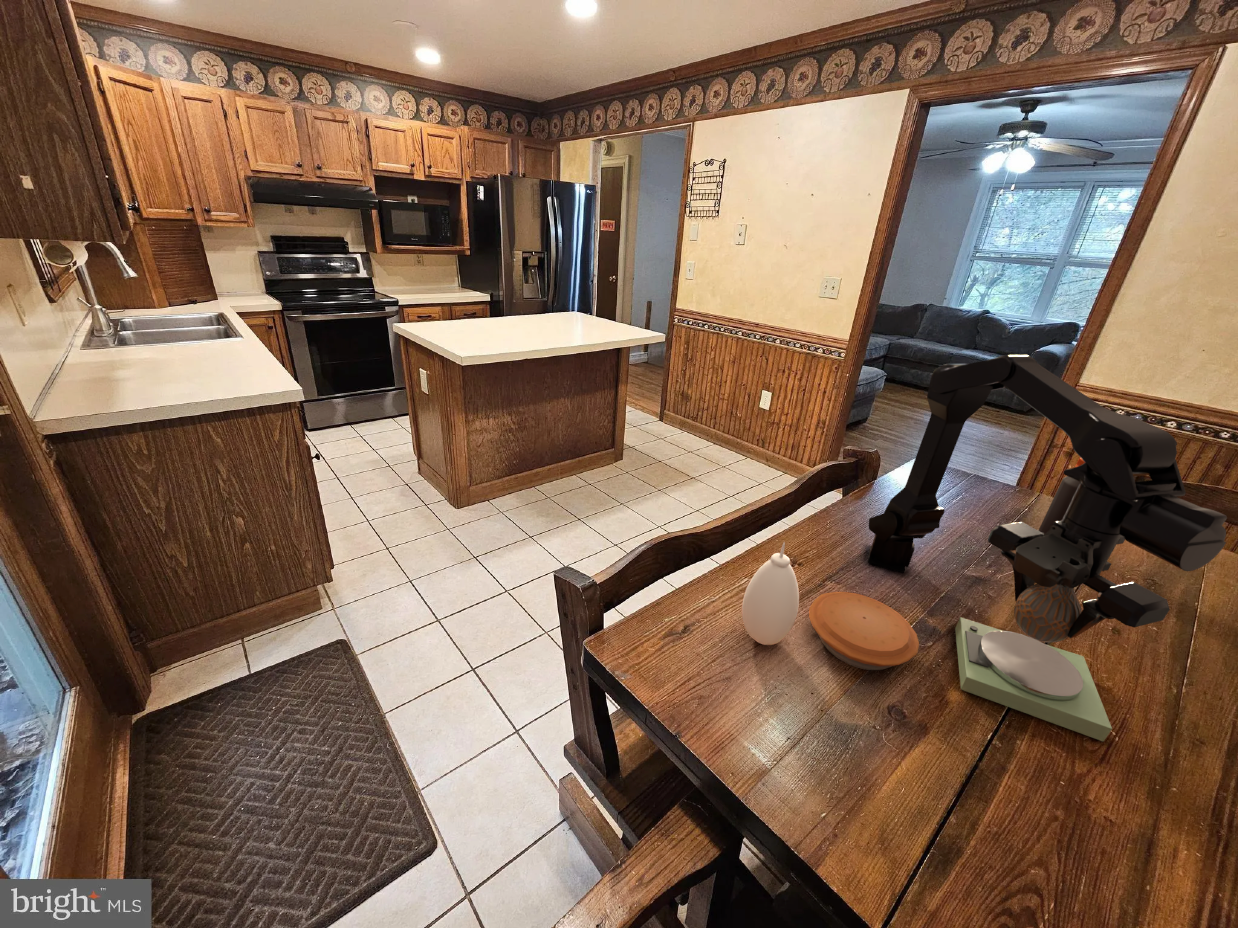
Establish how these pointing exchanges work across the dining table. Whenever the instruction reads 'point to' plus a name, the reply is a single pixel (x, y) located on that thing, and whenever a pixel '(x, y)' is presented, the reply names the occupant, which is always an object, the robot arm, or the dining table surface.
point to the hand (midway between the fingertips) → (1043, 618)
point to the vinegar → (1060, 501)
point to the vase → (1047, 612)
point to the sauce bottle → (771, 600)
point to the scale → (985, 682)
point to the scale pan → (1031, 665)
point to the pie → (862, 631)
